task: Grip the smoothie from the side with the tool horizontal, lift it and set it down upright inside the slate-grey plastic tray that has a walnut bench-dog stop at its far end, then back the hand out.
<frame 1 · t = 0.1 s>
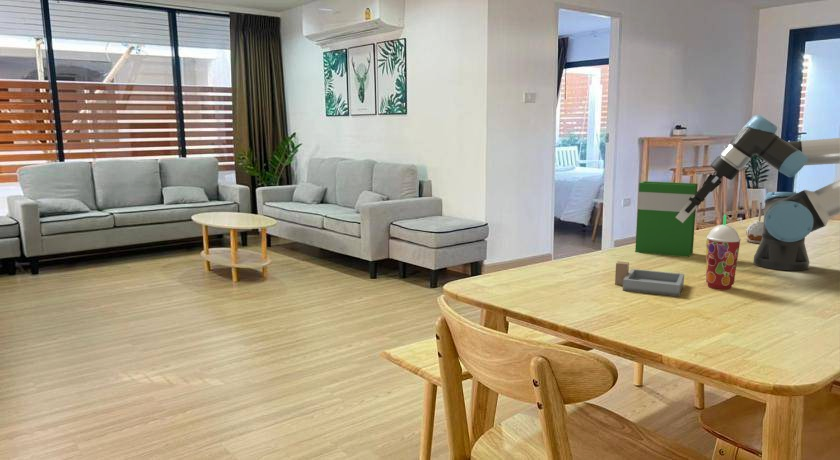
hand: (681, 217, 199), 15 cm above the table, tool tilted 35°, fingers open, 13 cm apart
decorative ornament: (757, 242, 240), on the table
tray: (653, 287, 175), on the table
smoothie: (719, 288, 175), on the table
hardback book: (663, 253, 221), on the table
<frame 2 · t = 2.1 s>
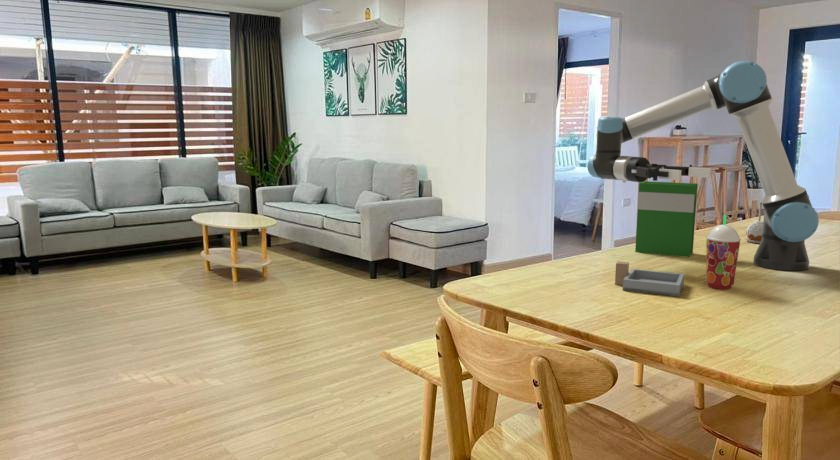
hand: (695, 174, 177), 30 cm above the table, tool horizontal, fingers open, 13 cm apart
nothing on the table moved.
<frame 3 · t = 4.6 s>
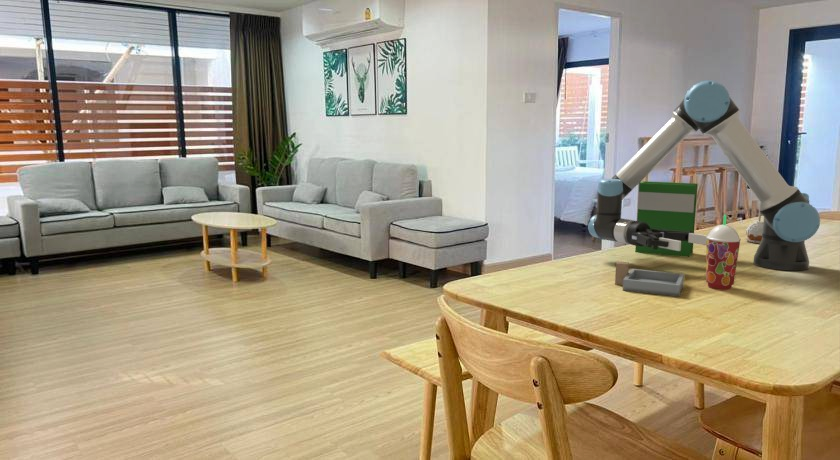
hand: (695, 243, 179), 11 cm above the table, tool horizontal, fingers open, 13 cm apart
nothing on the table moved.
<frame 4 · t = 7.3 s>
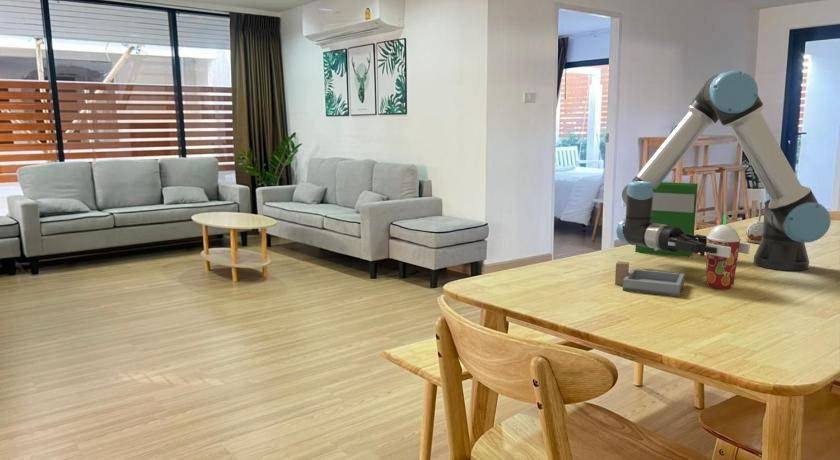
hand: (739, 250, 169), 11 cm above the table, tool horizontal, fingers closed on smoothie, 8 cm apart
smoothie: (719, 288, 175), on the table, touching gripper
everything else where it was.
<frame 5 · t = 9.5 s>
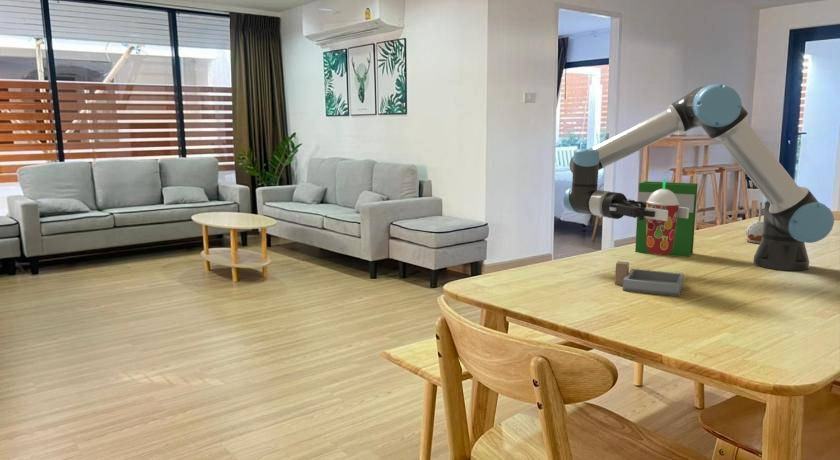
hand: (677, 214, 167), 21 cm above the table, tool horizontal, fingers closed on smoothie, 8 cm apart
smoothie: (659, 253, 173), point 9 cm above the table, touching gripper
everything else where it was.
when the fingers open (13 cm above the table, at t = 11.7 s): smoothie drops 1 cm, resting on tray.
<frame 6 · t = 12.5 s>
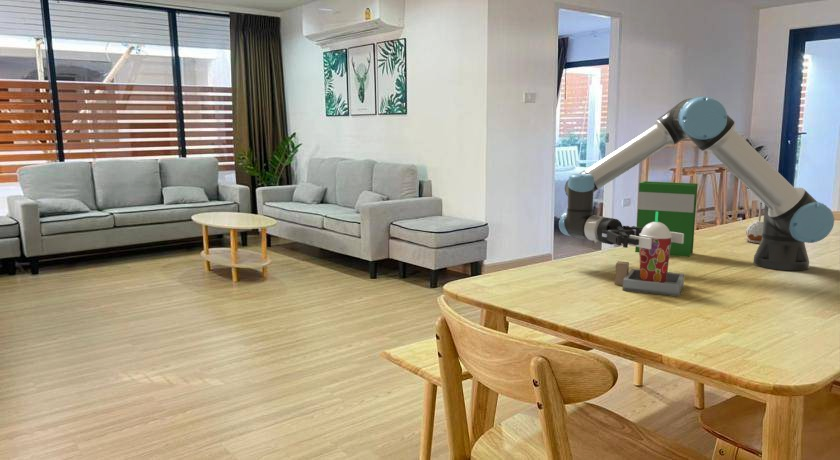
hand: (667, 241, 170), 13 cm above the table, tool horizontal, fingers open, 13 cm apart
smoothie: (652, 285, 174), point 1 cm above the table, touching tray
everything else where it was.
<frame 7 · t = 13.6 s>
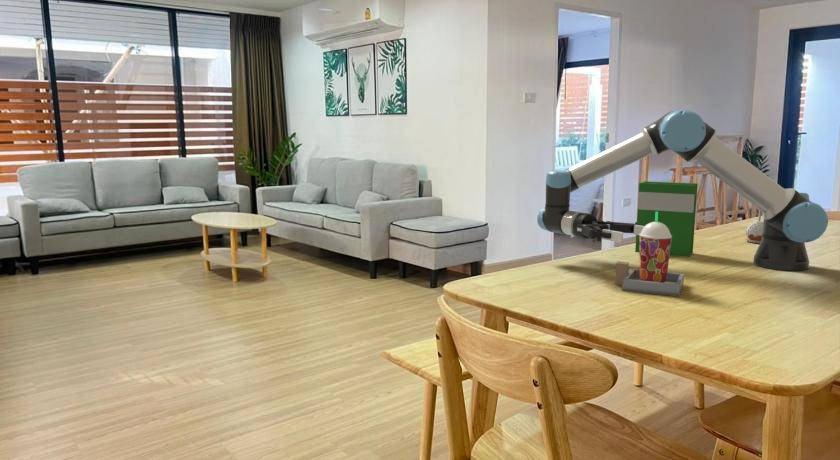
hand: (638, 235, 177), 14 cm above the table, tool horizontal, fingers open, 13 cm apart
nothing on the table moved.
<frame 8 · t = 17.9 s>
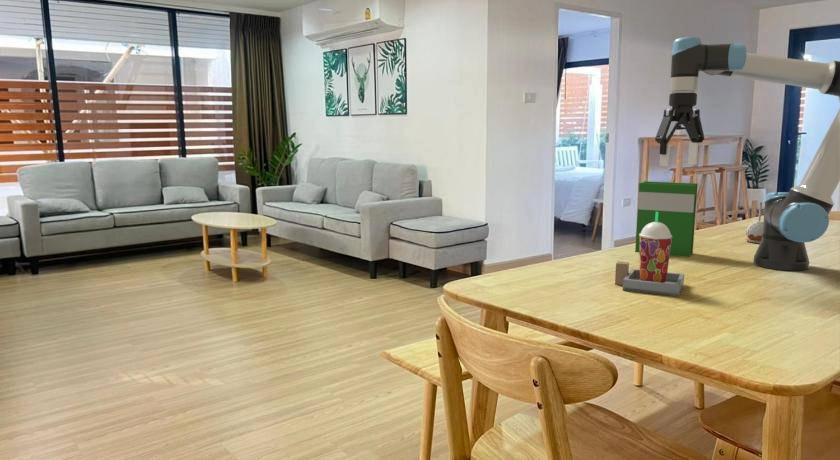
hand: (678, 165, 191), 32 cm above the table, tool pointing down, fingers open, 13 cm apart
nothing on the table moved.
at the end: smoothie 0.3 cm from the tray (horizontally); smoothie tilted 0°; the gripper is holding nothing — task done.
